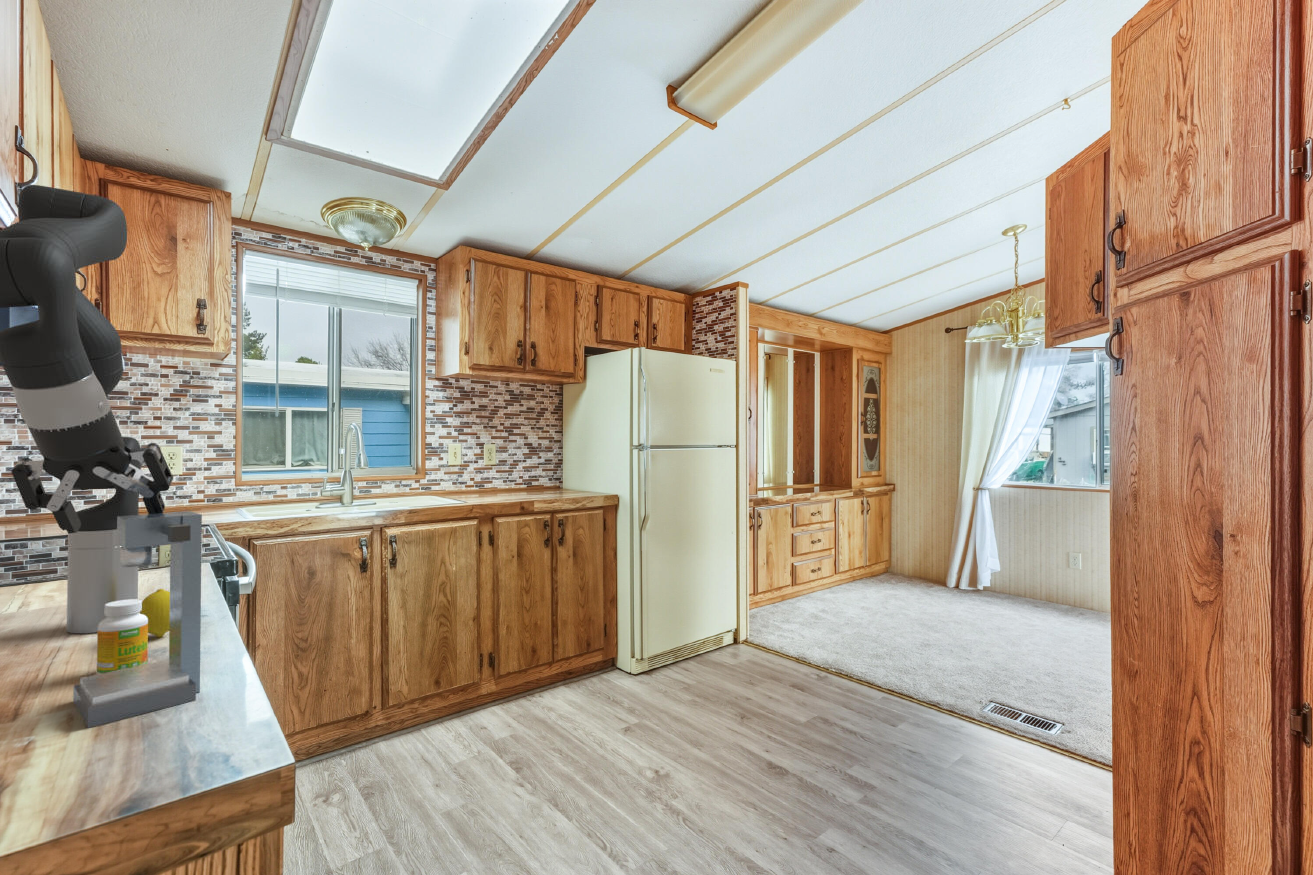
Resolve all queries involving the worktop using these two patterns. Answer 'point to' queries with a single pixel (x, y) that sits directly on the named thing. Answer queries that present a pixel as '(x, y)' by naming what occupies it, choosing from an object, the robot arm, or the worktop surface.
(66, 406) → the robot arm
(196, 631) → the arbor press
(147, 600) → the lemon
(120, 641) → the supplement bottle
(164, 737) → the worktop surface
